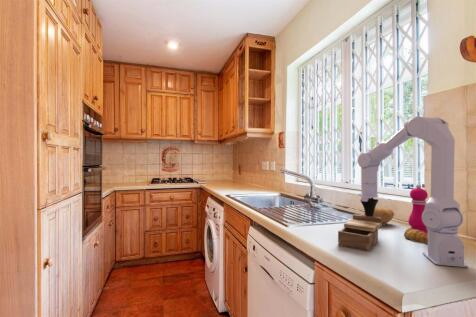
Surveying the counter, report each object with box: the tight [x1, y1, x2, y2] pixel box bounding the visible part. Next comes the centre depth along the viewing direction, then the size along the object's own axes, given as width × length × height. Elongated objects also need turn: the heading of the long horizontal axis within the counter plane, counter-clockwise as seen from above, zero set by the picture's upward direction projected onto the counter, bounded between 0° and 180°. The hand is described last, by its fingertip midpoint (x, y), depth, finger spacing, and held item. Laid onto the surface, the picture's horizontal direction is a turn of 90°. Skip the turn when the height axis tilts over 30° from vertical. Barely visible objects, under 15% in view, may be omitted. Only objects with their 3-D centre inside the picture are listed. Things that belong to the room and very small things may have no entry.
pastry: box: [403, 227, 428, 244], centre depth 98 cm, size 9×7×4 cm
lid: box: [343, 213, 383, 232], centre depth 99 cm, size 12×10×3 cm
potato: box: [363, 206, 395, 226], centre depth 122 cm, size 10×14×8 cm
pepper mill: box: [408, 183, 429, 234], centre depth 107 cm, size 7×7×20 cm
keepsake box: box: [337, 227, 379, 253], centre depth 94 cm, size 12×10×5 cm
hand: (369, 217), depth 105 cm, fingers closed
